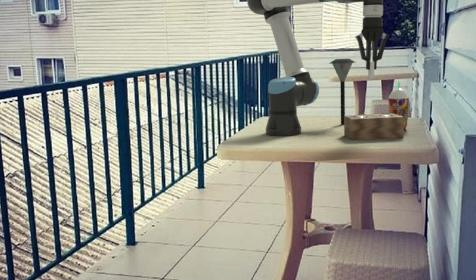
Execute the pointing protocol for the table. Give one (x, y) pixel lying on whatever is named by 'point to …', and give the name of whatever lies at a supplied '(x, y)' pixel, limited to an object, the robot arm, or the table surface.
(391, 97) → the smoothie
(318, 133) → the table surface
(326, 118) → the table surface
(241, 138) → the table surface
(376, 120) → the block
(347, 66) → the solar garden light
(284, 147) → the table surface
